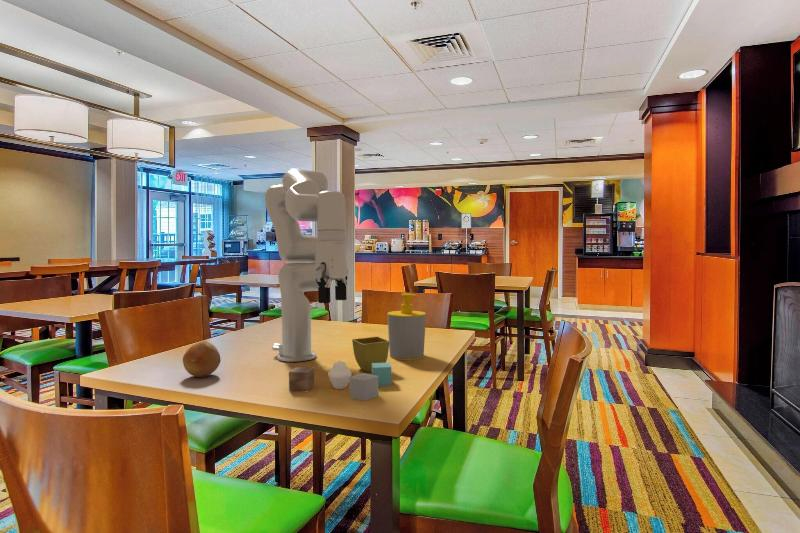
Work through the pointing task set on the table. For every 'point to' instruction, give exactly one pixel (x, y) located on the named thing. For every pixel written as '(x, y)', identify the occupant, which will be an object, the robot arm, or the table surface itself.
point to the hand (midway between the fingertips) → (333, 301)
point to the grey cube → (363, 386)
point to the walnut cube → (301, 379)
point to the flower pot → (370, 351)
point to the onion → (201, 359)
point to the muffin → (339, 375)
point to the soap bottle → (406, 331)
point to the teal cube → (382, 373)
